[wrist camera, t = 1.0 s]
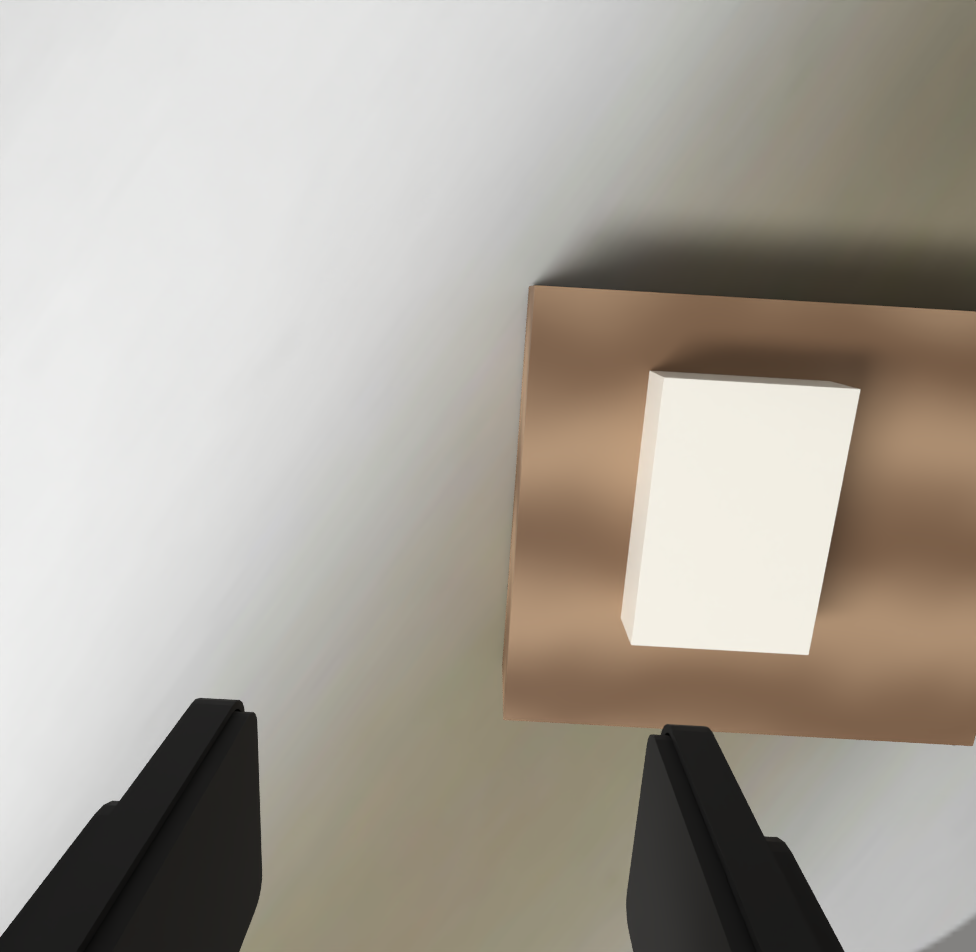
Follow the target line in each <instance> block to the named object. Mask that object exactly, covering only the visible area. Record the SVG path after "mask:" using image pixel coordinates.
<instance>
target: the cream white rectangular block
mask: <svg viewBox="0 0 976 952" xmlns="http://www.w3.org/2000/svg"><path fill="white" fill-rule="evenodd" d="M860 390H861V389H858V388H854V387H850V386H846V385H843V384H839V383H835V382H831V381H819V380H802V379H785V378H768V377H751V376H734V375H717V374H700V373H683V372H666V371H650V372H649V380H648V389H647V397H646V406H645V415H644V423H643V432H642V440H641V449H640V457H639V466H638V474H637V483H636V492H635V500H634V509H633V517H632V526H631V534H630V543H629V551H628V560H627V568H626V577H625V586H624V594H623V603H622V611H621V620H622V623H623V625H624V628H625V630H626V633H627V636H628V638H629V641H630V643H631V645H639V646H656V647H674V648H692V649H709V650H727V651H745V652H763V653H780V654H798V655H809V650H810V645H811V640H812V634H813V629H814V624H815V619H816V614H817V609H818V604H819V599H820V594H821V589H822V583H823V578H824V573H825V568H826V563H827V558H828V553H829V548H830V543H831V538H832V533H833V527H834V522H835V517H836V512H837V507H838V502H839V497H840V492H841V487H842V482H843V476H844V471H845V466H846V461H847V456H848V451H849V446H850V441H851V436H852V431H853V425H854V420H855V415H856V410H857V405H858V400H859V395H860Z"/></svg>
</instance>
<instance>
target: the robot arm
mask: <svg viewBox="0 0 976 952" xmlns="http://www.w3.org/2000/svg"><path fill="white" fill-rule="evenodd" d="M261 883H262V856H261V825H260V794H259V763H258V732H257V717H256V714H255V713H254V712H245V711H244V706H243V703H242V702H241V701H240V700H227V699H209V698H198V699H195V700H194V702H193V703H192V704H191V705H190V706H189V708H188V709H187V710H186V712H185V713H184V714H183V716H182V717H181V718H180V720H179V721H178V723H177V724H176V725H175V727H174V728H173V729H172V731H171V732H170V733H169V735H168V736H167V737H166V739H165V740H164V741H163V743H162V744H161V746H160V747H159V748H158V750H157V751H156V752H155V754H154V755H153V756H152V758H151V759H150V760H149V762H148V763H147V764H146V766H145V767H144V769H143V770H142V771H141V773H140V774H139V775H138V777H137V778H136V779H135V781H134V782H133V783H132V785H131V786H130V787H129V789H128V790H127V792H126V793H125V794H124V796H123V797H122V798H121V800H120V801H111V802H109V803H107V804H105V805H103V806H102V807H101V808H100V809H99V810H98V811H97V813H96V814H95V815H94V816H93V817H92V818H91V820H90V821H89V822H88V824H87V825H86V826H85V828H84V829H83V830H82V832H81V833H80V834H79V835H78V837H77V838H76V839H75V841H74V842H73V843H72V845H71V846H70V847H69V848H68V850H67V851H66V852H65V854H64V855H63V856H62V858H61V859H60V860H59V861H58V863H57V864H56V865H55V867H54V868H53V869H52V871H51V872H50V873H49V875H48V876H47V877H46V878H45V880H44V881H43V882H42V884H41V885H40V886H39V888H38V889H37V890H36V891H35V893H34V894H33V895H32V897H31V898H30V899H29V901H28V902H27V903H26V904H25V906H24V907H23V908H22V910H21V911H20V912H19V914H18V915H17V916H16V918H15V919H14V920H13V921H12V923H11V924H10V925H9V927H8V928H7V929H6V931H5V932H4V933H3V934H2V936H1V937H0V952H239V951H240V948H241V946H242V943H243V940H244V938H245V935H246V933H247V930H248V928H249V925H250V922H251V920H252V917H253V915H254V912H255V909H256V906H257V903H258V900H259V896H260V890H261ZM626 910H627V923H628V929H629V934H630V939H631V943H632V948H633V952H844V950H843V948H842V946H841V944H840V942H839V941H838V939H837V937H836V935H835V933H834V931H833V929H832V927H831V926H830V924H829V922H828V920H827V918H826V916H825V914H824V912H823V911H822V909H821V907H820V905H819V903H818V901H817V899H816V897H815V895H814V894H813V892H812V890H811V888H810V886H809V884H808V882H807V880H806V879H805V877H804V875H803V873H802V871H801V869H800V867H799V865H798V864H797V862H796V860H795V858H794V856H793V854H792V852H791V851H790V849H789V848H788V846H787V845H786V844H785V842H784V841H782V840H781V839H779V838H778V837H764V835H763V833H762V831H761V829H760V827H759V825H758V823H757V821H756V819H755V817H754V815H753V813H752V811H751V809H750V807H749V805H748V803H747V801H746V799H745V797H744V795H743V793H742V791H741V789H740V787H739V785H738V783H737V781H736V779H735V777H734V775H733V773H732V771H731V769H730V767H729V765H728V763H727V761H726V759H725V757H724V755H723V753H722V751H721V749H720V747H719V745H718V743H717V741H716V739H715V737H714V735H713V733H712V731H711V730H710V728H709V727H707V726H693V725H675V724H666V725H665V726H664V727H663V729H662V733H661V735H650V736H649V738H648V742H647V748H646V755H645V763H644V770H643V778H642V785H641V793H640V800H639V807H638V815H637V822H636V830H635V837H634V845H633V852H632V859H631V867H630V874H629V882H628V889H627V899H626Z"/></svg>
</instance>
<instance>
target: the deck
mask: <svg viewBox="0 0 976 952" xmlns="http://www.w3.org/2000/svg"><path fill="white" fill-rule="evenodd" d="M650 371H666V372H683V373H700V374H717V375H734V376H751V377H768V378H785V379H802V380H819V381H831V382H835V383H839V384H843V385H846V386H850V387H854V388H858V389H861V390H860V395H859V400H858V405H857V410H856V415H855V420H854V425H853V431H852V436H851V441H850V446H849V451H848V456H847V461H846V466H845V471H844V476H843V482H842V487H841V492H840V497H839V502H838V507H837V512H836V517H835V522H834V527H833V533H832V538H831V543H830V548H829V553H828V558H827V563H826V568H825V573H824V578H823V583H822V589H821V594H820V599H819V604H818V609H817V614H816V619H815V624H814V629H813V634H812V640H811V645H810V650H809V655H798V654H780V653H763V652H745V651H727V650H709V649H692V648H674V647H656V646H639V645H631V643H630V641H629V638H628V636H627V633H626V630H625V628H624V625H623V623H622V620H621V611H622V603H623V594H624V586H625V577H626V568H627V560H628V551H629V543H630V534H631V526H632V517H633V509H634V500H635V492H636V483H637V474H638V466H639V457H640V449H641V440H642V432H643V423H644V415H645V406H646V397H647V389H648V380H649V372H650ZM502 672H503V718H504V720H516V721H534V722H552V723H570V724H588V725H605V726H623V727H641V728H659V729H663V727H664V726H665V725H666V724H675V725H693V726H707V727H709V728H710V730H711V731H713V732H731V733H749V734H767V735H785V736H803V737H821V738H839V739H856V740H874V741H892V742H910V743H928V744H946V745H964V746H973V743H974V739H975V736H976V312H975V311H958V310H941V309H924V308H908V307H891V306H874V305H857V304H841V303H824V302H807V301H790V300H774V299H757V298H740V297H723V296H707V295H690V294H673V293H656V292H639V291H623V290H606V289H589V288H572V287H556V286H539V285H534V286H529V293H528V307H527V321H526V335H525V350H524V364H523V378H522V392H521V407H520V421H519V435H518V449H517V464H516V478H515V492H514V506H513V521H512V535H511V549H510V563H509V578H508V592H507V606H506V620H505V635H504V649H503V663H502Z"/></svg>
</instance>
